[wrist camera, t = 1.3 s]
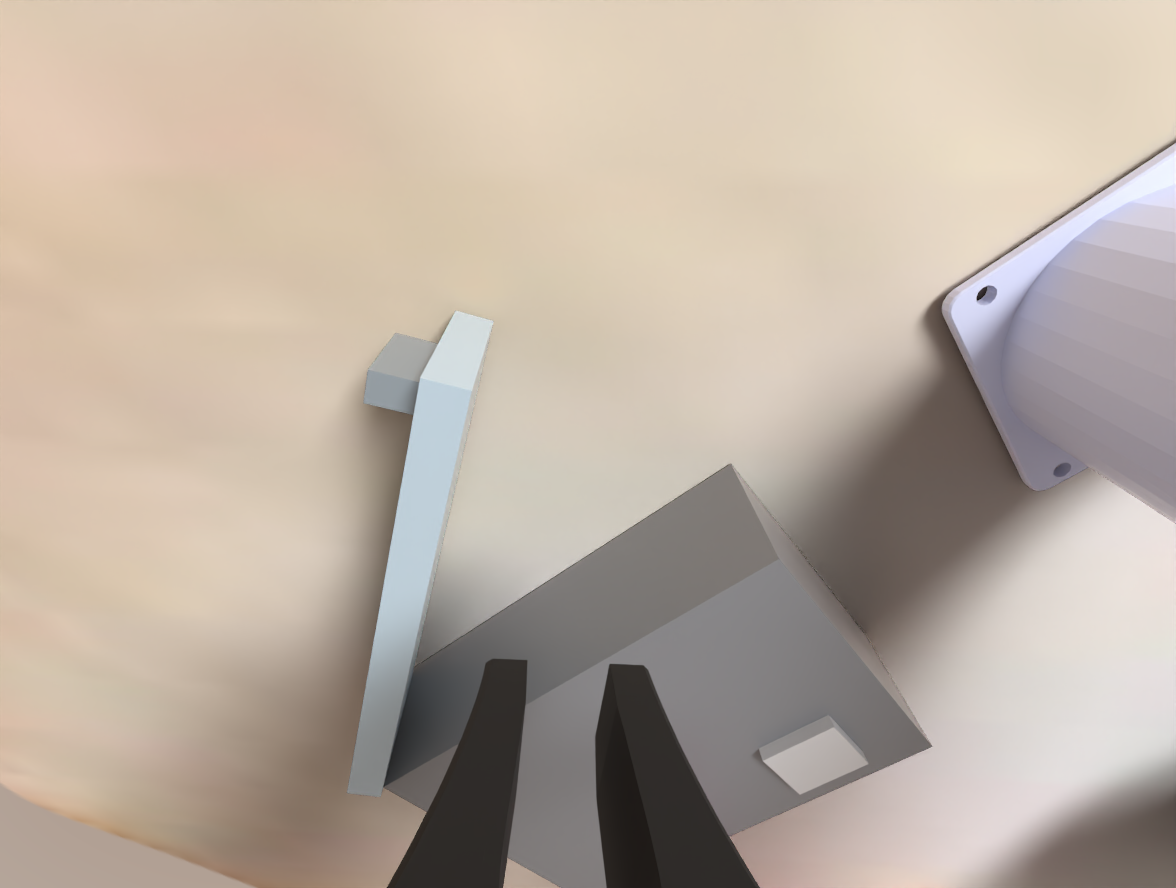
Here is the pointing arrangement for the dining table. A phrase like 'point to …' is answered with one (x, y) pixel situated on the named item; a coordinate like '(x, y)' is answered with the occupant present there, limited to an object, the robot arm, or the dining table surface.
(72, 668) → the dining table surface
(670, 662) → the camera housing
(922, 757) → the dining table surface
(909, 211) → the dining table surface
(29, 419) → the dining table surface
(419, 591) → the side door
